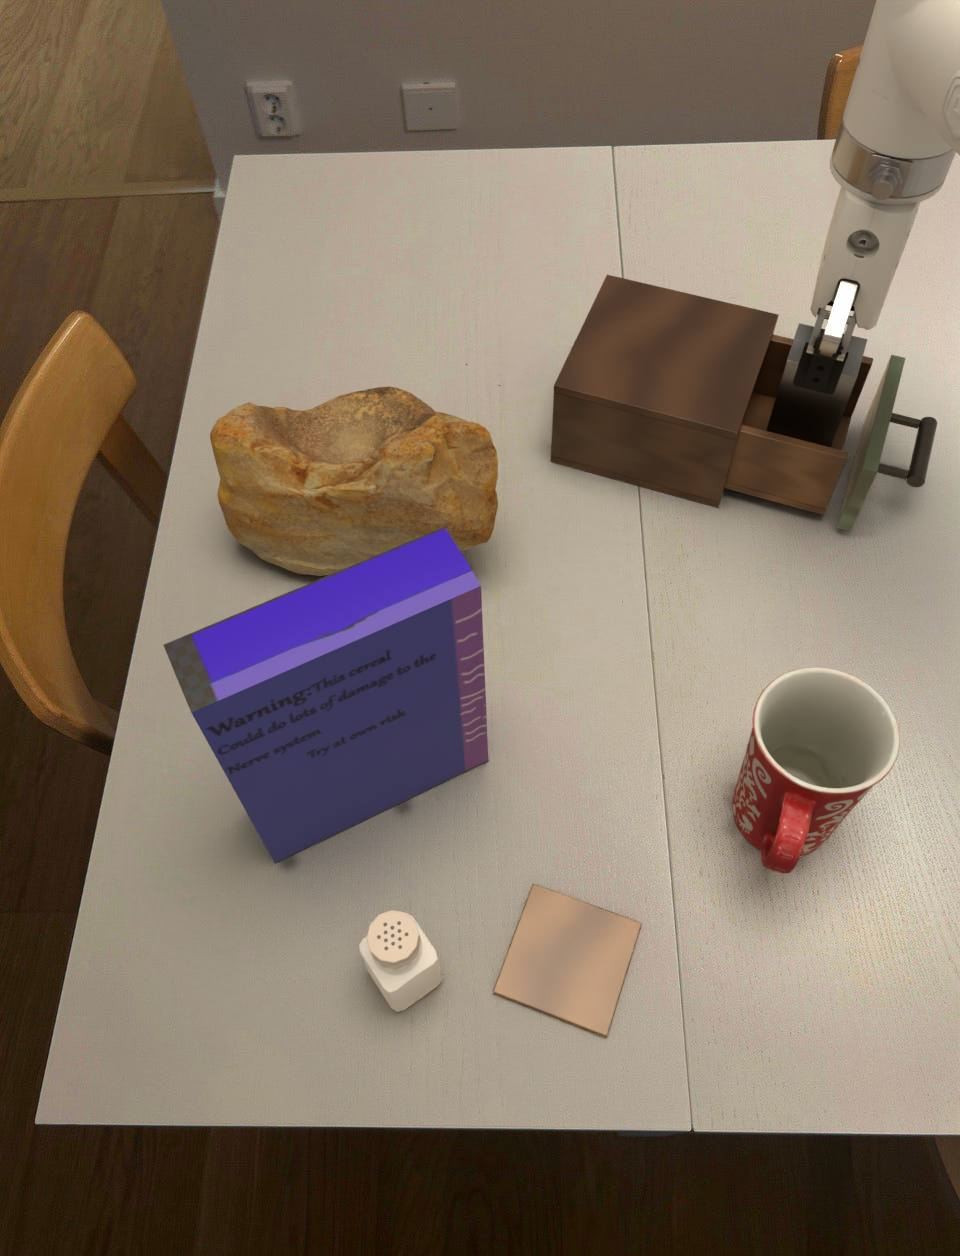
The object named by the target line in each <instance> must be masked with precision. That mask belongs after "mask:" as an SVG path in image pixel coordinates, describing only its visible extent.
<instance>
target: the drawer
mask: <svg viewBox="0 0 960 1256" xmlns="http://www.w3.org/2000/svg"><path fill="white" fill-rule="evenodd" d="M793 340H794V338H789V337H786V336H781V335H778V334H773V335H772V337H771V340H770V343H769V346H768V349H767V352H766V355H765V358H764V361H763V364H762V367H761V369H760V372H759V375H758V378H757V381H756V384H755V387H754V390H753V393H752V396H751V399H750V402H749V404H748V407H747V410H746V413H745V416H744V419H743V422H742V425H741V428H740V431H739V434H738V438H737V441H736V445H735V449H734V453H733V456H732V460H731V464H730V468H729V472H728V475H727V479H726V483H725V487H724V488H725V490H726V489H727V490H731V491H734V492H738V493H740V494H745V495H749V496H752V497H756V498H760V499H764V500H767V501H772V502H774V503H778V504H782V505H786V506H788V507H789V506H790V507H794V508H796V509H801V510H804V511H808V512H811V513H815V514H819V515H825V514H826V511H827V509H828V506H829V504H830V502H831V500H832V496H833V494H834V491H835V489H836V486H837V484H838V481H839V479H840V477H841V474H842V471H843V469H844V467H845V464H846V462H847V459H848V456H849V452H848V451H846V450H844V446H845V443H846V438H847V436H848V432H849V428H850V425H851V421H852V417H853V415H854V412H855V410H856V408H857V405H858V402H859V399H860V397H861V394H862V392H863V389H864V386H865V383H866V381H867V379H868V377H869V373H870V371H871V368H872V366H873V362H874V358H873V357H870V356H865V355H863V358H862V361H861V365H860V368H859V372H858V376H857V379H856V381H855V384H854V387H853V389H852V392H851V395H850V397H849V400H848V403H847V405H846V408H845V411H844V413H843V416H842V419H841V421H840V424H839V426H838V429H837V432H836V434H835V437H834V440H833V442H832V445H831V447H827V446H823V445H819V444H815V443H811V442H807V441H803V440H800V439H796V438H792V437H788V436H784V435H780V434H776V433H772V432H768V431H766V429H767V426H768V423H769V419H770V416H771V413H772V409H773V406H774V402H775V399H776V396H777V392H778V389H779V385H780V382H781V379H782V375H783V372H784V369H785V365H786V362H787V359H788V356H789V352H790V349H791V346H792V343H793ZM905 361H906V357H904V356H899V355H895V354H891V355H890V357H889V360H888V362H887V364H886V367H885V369H884V371H883V374H882V377H881V378H880V382H879V384H878V386H877V390H876V392H875V394H874V397H873V399H872V401H871V404H870V406H869V409H868V411H867V414H866V416H865V419H864V422H863V427H862V430H861V435H860V438H859V441H858V445H857V449H856V452H855V453H856V454H855V457H854V461H853V465H852V468H851V472H850V476H849V479H848V483H847V487H846V491H845V495H844V498H843V503H842V507H841V510H840V514H839V518H838V520H837V521H838V522H837V525H836V528H837V529H840V530H844V531H847V532H852V530H853V528H854V525H855V523H856V521H857V519H858V516H859V514H860V512H861V510H862V508H863V505H864V503H865V501H866V498H867V496H868V494H869V492H870V489H871V487H872V485H873V483H874V481H875V478H876V476H877V474H882V475H885V476H890V477H893V478H896V479H901V480H904V481H906V484H907V485H908V486H909V487H911V488H921V487H923V486H924V485H925V482H926V479H927V473H928V469H929V463H930V459H931V455H932V450H933V446H934V441H935V437H936V431H937V426H938V421H937V419H936V418H935V417H933V416H924V417H922V418H921V419H919V418H915V417H912V416H907V415H903V414H899V413H894V412H893V410H894V407H895V403H896V399H897V394H898V392H899V391H898V390H899V386H900V383H901V378H902V374H903V370H904V366H905V363H906V362H905ZM890 423H891V424H896V425H900V426H904V427H908V428H913V429H916V430H917V432H916V436H915V442H914V446H913V450H912V454H911V457H910V458H911V459H910V463H909V466H908V467H909V468H908V469H905V468H901V467H898V466H893V465H889V464H886V463H881V459H882V455H883V451H884V448H885V447H884V446H885V443H886V439H887V435H888V431H889V427H890Z"/></svg>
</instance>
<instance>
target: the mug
mask: <svg viewBox="0 0 960 1256" xmlns="http://www.w3.org/2000/svg"><path fill="white" fill-rule="evenodd" d="M900 745H901V737H900V730H899V725H898V721H897V720H896V717H895V715H894V712H893V710H892V709H891V707H890V706H889V704H888V703H887V701H886V700H885V699H884V698H883V697H882V696H881V694H880V693H878V692H877V691H876V689H875V688H873V687H871V686H870V685H869V684H868V683H866V682H865V681H864V680H861V679H859V678H858V677H856V676H854V675H852V674H850V673H847V672H844V671H842V670H838V669H834V668H828V667H819V666H813V667H812V666H811V667H802V668H797V669H793V670H791V671H790V670H789V671H788V672H785V673H782V674H781V675H779V676H778V677H776V678H775V679H773V680H771V681H770V682H769V683H768V685H766V686H765V687H764V689H763V690H762V691H761V693H760V694H759V696H758V698H757V700H756V702H755V705H754V708H753V714H752V727H751V731H750V734H749V738H748V741H747V745H746V751H745V754H744V757H743V760H742V763H741V767H740V771H739V773H738V774H739V775H738V778H737V782H736V784H735V788H734V791H733V796H732V804H731V805H732V814H733V819H734V821H735V824H736V826H737V828H738V830H739V832H740V833H741V835H742V836H743V837H744V838H745V839H746V841H747V842H749V844H751V845H752V846H753V847H755V848H756V849H758V850H760V861H761V865H763V867H764V868H766V869H768V870H770V871H773V872H776V873H780V874H786V875H788V874H790V873H792V872H793V870H794V869H795V867H796V866H797V865H798V862H799V860H800V859H801V857H804V856H806V855H807V856H808V855H810V854H811V853H813V852H815V851H816V850H818V849H819V848H820V847H821V846H822V845H823V844H824V843H825V842H826V841H827V840H828V839H829V838H830V837H831V835H832V834H833V833H834V832H835V830H836V829H837V828H838V827H839V825H841V823H842V822H843V821H844V820H845V819H846V817H848V816H849V814H850V813H851V812H852V810H853V809H854V808H855V807H856V806H857V805H858V804H859V803H860V802H861V801H862V800H863V798H865V796H866V795H867V794H868V792H870V790H872V788H873V787H875V785H877V784H878V783H880V782H881V781H882V780H884V778H885V777H886V776H888V774H889V773H890V772H891V770H892V769H893V767H894V766H895V763H896V761H897V759H898V756H899V752H900V748H901V747H900Z"/></svg>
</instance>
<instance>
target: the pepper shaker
mask: <svg viewBox="0 0 960 1256" xmlns="http://www.w3.org/2000/svg"><path fill="white" fill-rule="evenodd" d="M358 949H359V954H360V956H361V958H362V961H363V963H364V965H365V967H366V970H367V972H368V975H369V976H370V977H371V979H372V980H373V982H374V983H375V985H376V986H377V988H378V990H379V991H380V993H381V995H382V996H383V998H384V1000H385V1001H386V1003H387V1004H388V1005H389V1007H390V1009H392V1010H393V1011H395V1012H396V1013H399V1012H404V1011H405V1010H407V1009H408V1008H409V1007H411V1006H412V1005H414V1004H415V1003H417V1002H418V1001H419V1000H421V999H422V998H423V997H425V996H427V995H428V994H429V993H430V992H431V991H433V990H435V989H436V988H437V987H439V985H440V984H441V982H442V981H443V975H442V971H441V967H440V961H439V957H438V953H437V950H436V948H435V947H434V946H433V943H431V941H430V939H429V938H428V936H427V935H426V934H425V932H424V930H423V929H422V928H421V926H420V924H419V923H418V922H417V920H416V919H415V917H414V916H412V915H411V914H410V913H407V912H405V911H400V910H394V909H390V910H387V911H385V912H382V913H379V914H378V915H377V916H376V917H375V918H374V919H373V920H372V921H371V923H370V924H369V925H368V931H367V934H366V936H364V937H363V938H362V940H361V941H360V943H359V944H358Z"/></svg>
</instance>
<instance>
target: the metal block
mask: <svg viewBox="0 0 960 1256" xmlns="http://www.w3.org/2000/svg"><path fill="white" fill-rule="evenodd" d="M813 329H814V326H813V325H808V324H804V323H798V326H797V329H796V330H795V334H794V337H793V339H794V340H793V343H792V346H791V349H790V352H789V356H788V359H787V362H786V365H785V369H784V372H783V375H782V379H781V382H780V385H779V389H778V392H777V396H776V399H775V402H774V406H773V409H772V413H771V416H770V419H769V423H768V426H767V429H766V431H768V432H772V433H776V434H780V435H784V436H788V437H792V438H796V439H800V440H803V441H807V442H811V443H815V444H819V445H823V446H827V447H831V445H832V442H833V440H834V437H835V434H836V432H837V429H838V426H839V424H840V421H841V419H842V416H843V413H844V411H845V408H846V405H847V403H848V400H849V397H850V395H851V392H852V389H853V387H854V384H855V381H856V379H857V376H858V372H859V368H860V365H861V361H862V358H863V356H864V355H865V354H864V353H865V350H866V347H867V343H868V339H867V338H864V337H859V336H855V335H852V337H851V339H850V342H849V345H848V348H847V351H846V352H849V354H848V357H847V360H846V363H845V365H844V368H843V371H842V373H841V376H840V379H839V381H838V384H837V387H836V390H835V392H834V393H833V394H825V393H821V392H817V391H813V390H809V389H805V388H801V387H797V386H795V385H794V384H793V380H794V377H795V374H796V371H797V368H798V364H799V361H800V358H801V355H802V352H803V349H804V346H805V343H806V342H808V343H809V342H810V338H811V335H812V332H813ZM825 329H826V328H821V331H820V334H819V337H823V335H824V332H825ZM843 336H844V333H843V334H842V338H841V341H840V342H842V339H843ZM819 337H818V338H819Z"/></svg>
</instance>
